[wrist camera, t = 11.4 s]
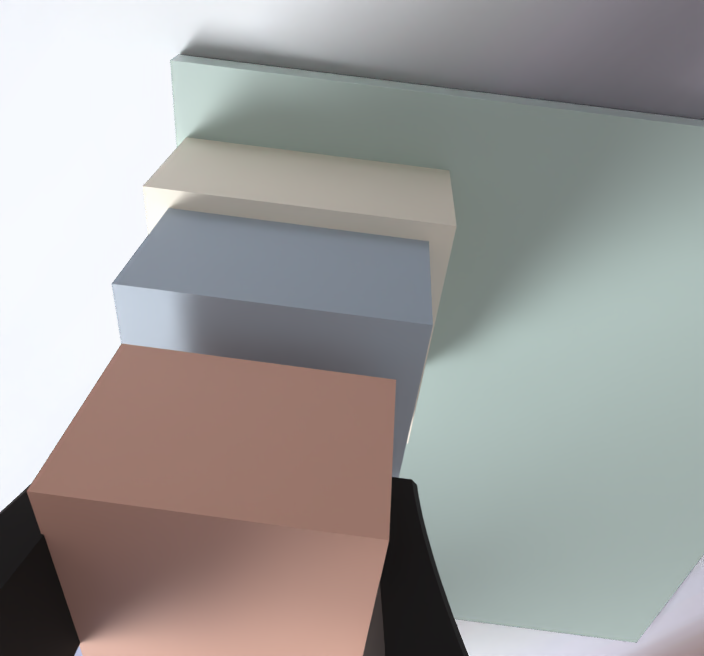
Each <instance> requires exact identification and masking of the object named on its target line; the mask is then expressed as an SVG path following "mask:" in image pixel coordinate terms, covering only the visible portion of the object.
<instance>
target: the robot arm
mask: <svg viewBox="0 0 704 656" xmlns="http://www.w3.org/2000/svg"><path fill="white" fill-rule="evenodd" d="M31 484H32V483H31ZM31 484H30V485H31ZM30 485H29V486H28V487H27V488H26V489H25V490H24V491H23V492H22V493H21V494H20V495H19V496H17V497H16V498H15V499H14V500H13V501H12V502H11V503H10V504H9V505H8V506H7V507H6V508H4V509H3V510H2V511H1V512H0V656H83V655H82V652H81V649H80V646H79V645H80V640H79V638H78V635H77V632H76V629H75V626H74V623H73V620H72V617H71V614H70V611H69V608H68V605H67V602H66V599H65V596H64V593H63V590H62V587H61V584H60V581H59V578H58V575H57V572H56V569H55V566H54V563H53V560H52V557H51V554H50V551H49V548H48V545H47V542H46V539H45V536H44V534H41V532H40V529H39V526H38V523H37V520H36V517H35V514H34V511H33V508H32V505H31V502H30V500H29V497H28V494H27V490H28V488H29V487H30ZM363 656H469V655H468V653H467V650H466V648H465V645H464V643H463V640H462V638H461V635H460V632H459V630H458V627H457V624H456V622H455V619H454V616H453V613H452V610H451V608H450V605H449V602H448V599H447V596H446V593H445V590H444V587H443V584H442V581H441V579H440V575H439V572H438V569H437V566H436V563H435V559H434V556H433V552H432V549H431V545H430V542H429V538H428V535H427V531H426V527H425V523H424V519H423V514H422V510H421V505H420V500H419V494H418V488H417V484H416V483H415V482H414V481H413V480H412V479H405V478H398V477H392V486H391V508H390V531H389V543H388V547H387V552H386V556H385V561H384V565H383V570H382V574H381V578H380V581H379V586H378V590H377V595H376V599H375V604H374V608H373V612H372V617H371V621H370V626H369V630H368V634H367V639H366V643H365V648H364V652H363Z"/></svg>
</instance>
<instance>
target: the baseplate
mask: <svg viewBox="0 0 704 656" xmlns="http://www.w3.org/2000/svg"><path fill="white" fill-rule="evenodd" d="M170 63H171V77H172V90H173V104H174V117H175V131H176V144H177V147H178V146H179V145H180V144H181V143H182V141H183V140H184V139H185V138H186V137H189V138H197V139H205V140H213V141H221V142H229V143H236V144H244V145H252V146H260V147H268V148H276V149H284V150H292V151H300V152H308V153H316V154H324V155H331V156H339V157H347V158H355V159H363V160H371V161H379V162H387V163H395V164H403V165H411V166H419V167H427V168H434V169H442V170H449V171H450V178H451V186H452V194H453V201H454V209H455V217H456V225H457V227H456V231H455V236H454V240H453V245H452V249H451V254H450V258H449V263H448V267H447V272H446V276H445V281H444V285H443V289H442V294H441V298H440V303H439V307H438V312H437V316H436V321H435V325H434V330H433V334H432V339H431V343H430V348H429V352H428V357H427V361H426V365H425V370H424V374H423V379H422V383H421V388H420V392H419V397H418V401H417V406H416V410H415V415H414V419H413V424H412V428H411V433H410V437H409V441H408V444H407V443H406V448H405V452H404V457H403V461H402V465H401V470H400V474H399V478H405V479H412V480H413V481H414V482H415V483H416V484H417V488H418V494H419V500H420V505H421V510H422V514H423V519H424V523H425V527H426V531H427V535H428V538H429V542H430V545H431V549H432V552H433V556H434V559H435V563H436V566H437V569H438V572H439V575H440V579H441V581H442V584H443V587H444V590H445V593H446V596H447V599H448V602H449V605H450V608H451V610H452V613H453V616H454V619H458V620H466V621H473V622H481V623H489V624H496V625H504V626H512V627H520V628H527V629H535V630H543V631H550V632H558V633H566V634H574V635H581V636H589V637H597V638H604V639H612V640H620V641H628V642H635V643H637V641H638V640H639V639H640V637H641V636H642V635H643V634H644V632H645V631H646V630H647V628H648V627H649V626H650V624H651V623H652V622H653V620H654V619H655V618H656V616H657V615H658V614H659V613H660V611H661V610H662V609H663V607H664V606H665V605H666V603H667V602H668V601H669V599H670V598H671V597H672V595H673V594H674V593H675V592H676V590H677V589H678V588H679V586H680V585H681V584H682V582H683V581H684V580H685V578H686V577H687V576H688V574H689V573H690V572H691V571H692V569H693V568H694V567H695V565H696V564H697V563H698V561H699V560H700V559H701V557H702V556H703V555H704V120H699V119H691V118H683V117H675V116H667V115H659V114H651V113H643V112H635V111H627V110H619V109H611V108H603V107H595V106H587V105H579V104H571V103H563V102H555V101H547V100H539V99H531V98H523V97H515V96H507V95H499V94H491V93H483V92H475V91H467V90H459V89H451V88H443V87H435V86H427V85H419V84H411V83H403V82H395V81H387V80H379V79H371V78H363V77H355V76H347V75H339V74H331V73H323V72H315V71H307V70H299V69H291V68H283V67H275V66H267V65H259V64H251V63H243V62H235V61H227V60H219V59H211V58H203V57H195V56H187V55H179V54H178V55H177V56H176V57H174V58H173V59H171V60H170Z"/></svg>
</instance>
